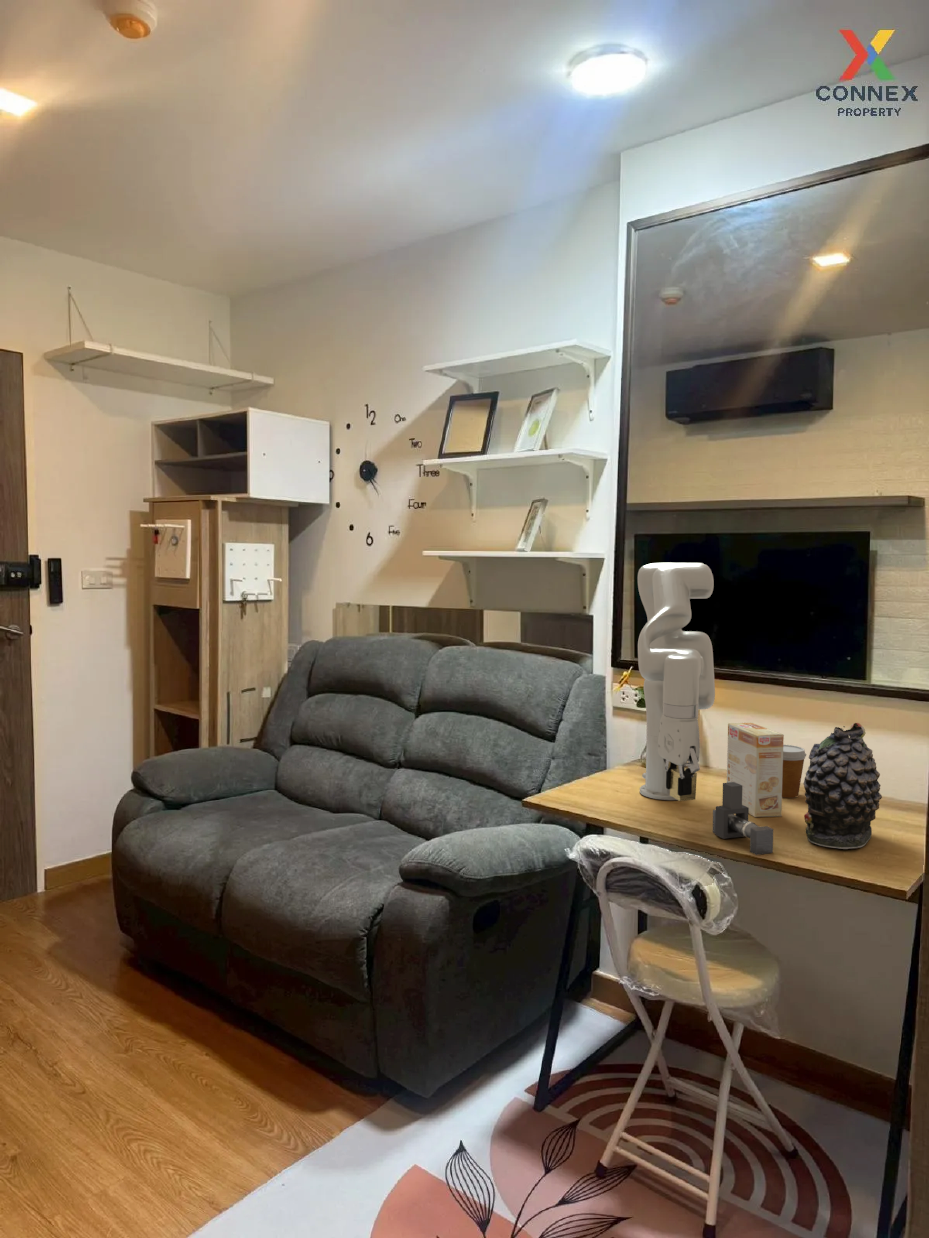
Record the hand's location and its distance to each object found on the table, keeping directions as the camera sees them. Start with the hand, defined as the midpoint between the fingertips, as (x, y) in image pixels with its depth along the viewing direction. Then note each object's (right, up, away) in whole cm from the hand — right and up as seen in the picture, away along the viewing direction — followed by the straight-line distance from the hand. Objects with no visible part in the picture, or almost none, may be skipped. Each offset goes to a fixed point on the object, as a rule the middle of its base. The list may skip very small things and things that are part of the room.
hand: (678, 790), depth 183 cm
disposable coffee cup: (+35, -7, +28) cm, 45 cm away
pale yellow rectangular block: (+1, -2, +1) cm, 2 cm away
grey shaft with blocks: (+11, -9, -7) cm, 17 cm away
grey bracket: (+10, -9, -4) cm, 14 cm away
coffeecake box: (+22, -8, +17) cm, 29 cm away
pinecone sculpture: (+33, -10, -5) cm, 35 cm away
